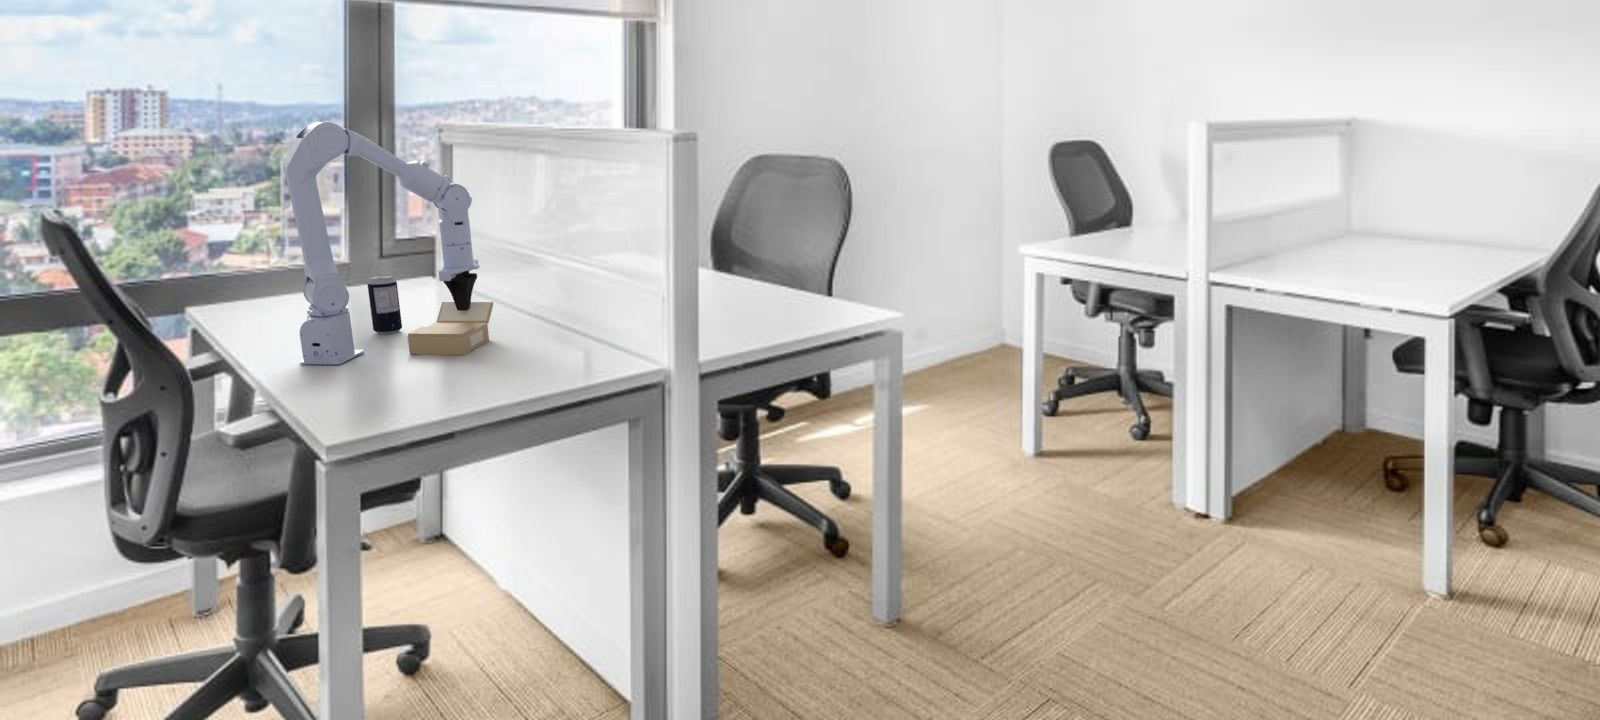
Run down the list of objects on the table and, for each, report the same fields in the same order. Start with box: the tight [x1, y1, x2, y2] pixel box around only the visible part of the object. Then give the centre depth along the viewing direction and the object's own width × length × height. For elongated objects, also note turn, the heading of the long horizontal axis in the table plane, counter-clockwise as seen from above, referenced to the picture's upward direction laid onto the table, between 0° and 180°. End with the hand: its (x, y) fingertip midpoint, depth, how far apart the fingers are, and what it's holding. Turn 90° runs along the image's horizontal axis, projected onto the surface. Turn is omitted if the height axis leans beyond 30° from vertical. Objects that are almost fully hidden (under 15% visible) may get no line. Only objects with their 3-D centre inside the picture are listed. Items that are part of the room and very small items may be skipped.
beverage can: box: [367, 274, 403, 336], centre depth 212 cm, size 6×6×12 cm
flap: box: [436, 301, 494, 324], centre depth 207 cm, size 5×11×1 cm
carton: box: [407, 322, 490, 356], centre depth 200 cm, size 12×11×4 cm
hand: (463, 309), depth 206 cm, fingers closed
